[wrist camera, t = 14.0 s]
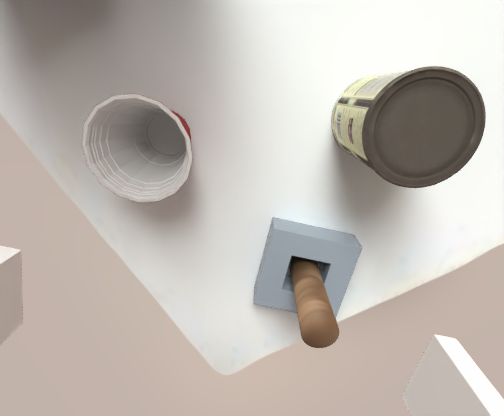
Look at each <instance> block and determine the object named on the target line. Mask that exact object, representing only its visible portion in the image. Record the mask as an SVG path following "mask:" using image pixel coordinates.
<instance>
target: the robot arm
mask: <svg viewBox="0 0 504 416" xmlns="http://www.w3.org/2000/svg"><path fill="white" fill-rule="evenodd" d="M22 305H23V304H22V259H21V250H19V249H14V248H8V247H4V246H0V345H1V344H2V343H3V342H4V341H5V340H6V339H7V338H8V337H9V336H10V335H11V334H12V333H13V332H14V331H15V330H16V329H17V328H18V327H19V326H20V325H21V324H22V323H23V306H22ZM402 398H403V400H404V402H405V404H406V406H407V408H408V411H409V413H410V415H411V416H504V400H503V398H502V397H501V396H500V394H499V393H498V392H497V391H496V389H495V388H494V387H493V385H492V384H491V383H490V382H489V380H488V379H487V378H486V377H485V375H484V374H483V373H482V371H481V370H480V369H479V367H478V366H477V365H476V364H475V362H474V361H473V360H472V359H471V357H470V356H469V355H468V354H467V352H466V351H465V350H464V348H463V347H462V346H461V345H460V343H459V342H458V341H457V340H456V339H455V338H450V337H445V336H440V335H435V334H433V336H432V338H431V340H430V342H429V344H428V346H427V348H426V350H425V352H424V354H423V356H422V358H421V360H420V362H419V363H418V366H417V367H416V369H415V371H414V373H413V375H412V377H411V379H410V381H409V383H408V385H407V387H406V389H405V391H404V393H403V394H402Z"/></svg>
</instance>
